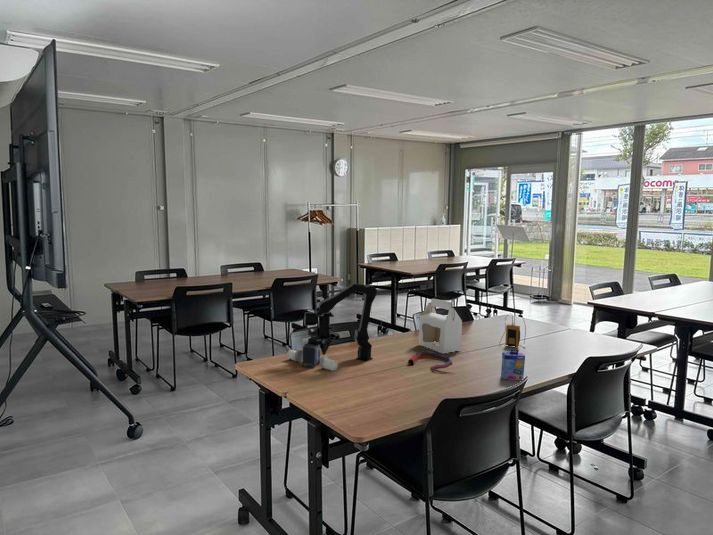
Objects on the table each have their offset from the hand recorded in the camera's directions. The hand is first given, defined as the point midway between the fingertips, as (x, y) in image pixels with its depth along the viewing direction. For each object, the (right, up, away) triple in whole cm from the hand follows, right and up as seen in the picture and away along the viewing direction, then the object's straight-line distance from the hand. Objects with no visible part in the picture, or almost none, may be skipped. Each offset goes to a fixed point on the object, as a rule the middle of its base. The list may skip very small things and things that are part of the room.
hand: (323, 354), depth 268 cm
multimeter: (+110, -2, +39) cm, 117 cm away
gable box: (+65, -2, +31) cm, 72 cm away
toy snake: (+58, -6, -3) cm, 59 cm away
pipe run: (-6, -4, -7) cm, 10 cm away
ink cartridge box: (+91, -8, -22) cm, 94 cm away
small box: (-6, -4, -7) cm, 10 cm away
